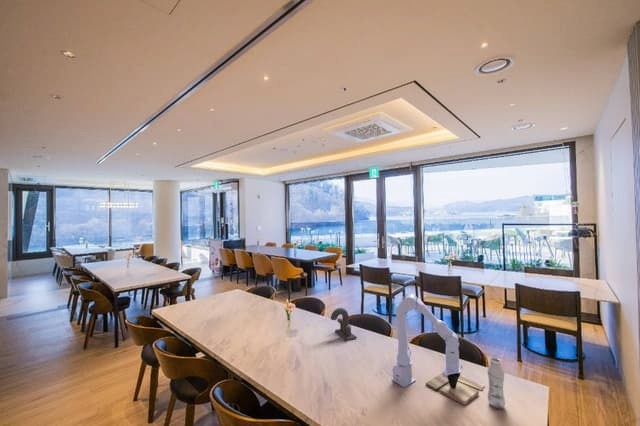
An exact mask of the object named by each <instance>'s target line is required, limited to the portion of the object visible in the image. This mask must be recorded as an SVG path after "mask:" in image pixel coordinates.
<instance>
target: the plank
mask: <svg viewBox="0 0 640 426" xmlns="http://www.w3.org/2000/svg"><path fill="white" fill-rule="evenodd" d="M457 382H459V383H462V384H464V385H466V386H468V387H471V388H473V389H475V390H477V391H479V392H480V391H481V392H483V390H484V389H485V387H486V386H485V384H483V383H480V382H477V381H475V380H472V379H469V378H467V377H464V376H461V375H460V376H459V378H458V381H457Z"/></svg>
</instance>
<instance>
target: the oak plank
mask: <svg viewBox="0 0 640 426" xmlns="http://www.w3.org/2000/svg"><path fill="white" fill-rule="evenodd" d="M438 392H439V393H440V394H442V395H444V396H447V397H448V398H451V399H452V400H455V401H457V402H458V403H460V404H462V405H464V406H465V405H466V404H467V403H468V402H470V401H472V400H473V399H474V398H476V397H477V396H478V395H479V394H480V390H478V389H475V388H472V387H470V386H467V385H465V384H462V383H460V382H457V385H456V388H455V389H453V388H451V387H450V384H449V383H448V384H447V385H445V386H443V387H442V388H440V389H439V390H438Z"/></svg>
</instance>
